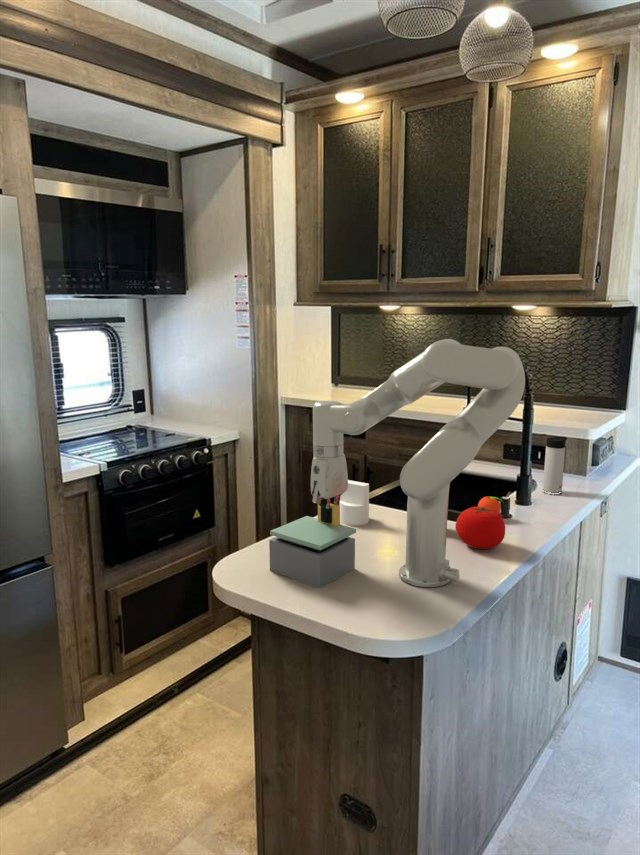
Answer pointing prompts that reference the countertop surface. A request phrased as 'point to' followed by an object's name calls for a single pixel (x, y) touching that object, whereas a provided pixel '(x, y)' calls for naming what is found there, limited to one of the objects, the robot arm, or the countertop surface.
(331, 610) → the countertop surface
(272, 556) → the tub
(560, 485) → the travel mug
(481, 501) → the clementine
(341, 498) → the cylinder with rectangular tab
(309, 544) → the door
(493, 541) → the tomato
